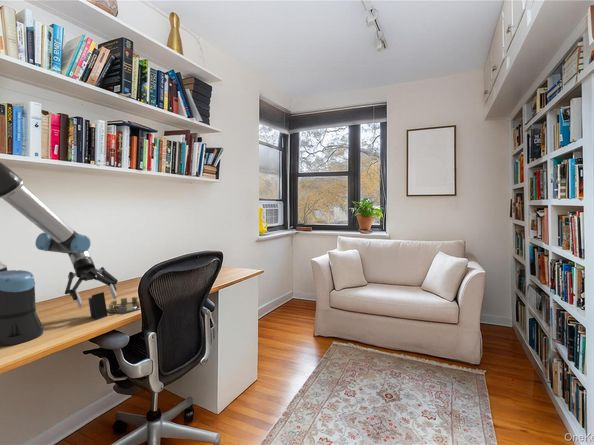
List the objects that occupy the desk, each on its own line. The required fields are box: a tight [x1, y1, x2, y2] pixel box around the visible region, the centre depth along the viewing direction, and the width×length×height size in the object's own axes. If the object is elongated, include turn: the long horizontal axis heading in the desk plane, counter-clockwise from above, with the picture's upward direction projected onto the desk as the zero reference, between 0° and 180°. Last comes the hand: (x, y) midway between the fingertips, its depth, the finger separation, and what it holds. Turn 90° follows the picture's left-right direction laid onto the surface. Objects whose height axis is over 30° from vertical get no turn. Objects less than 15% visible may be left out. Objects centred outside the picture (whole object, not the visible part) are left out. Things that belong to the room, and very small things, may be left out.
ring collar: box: [107, 296, 141, 315], centre depth 148 cm, size 15×15×3 cm
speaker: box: [87, 291, 108, 321], centre depth 137 cm, size 8×6×10 cm
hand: (98, 301), depth 138 cm, fingers open, 13 cm apart
